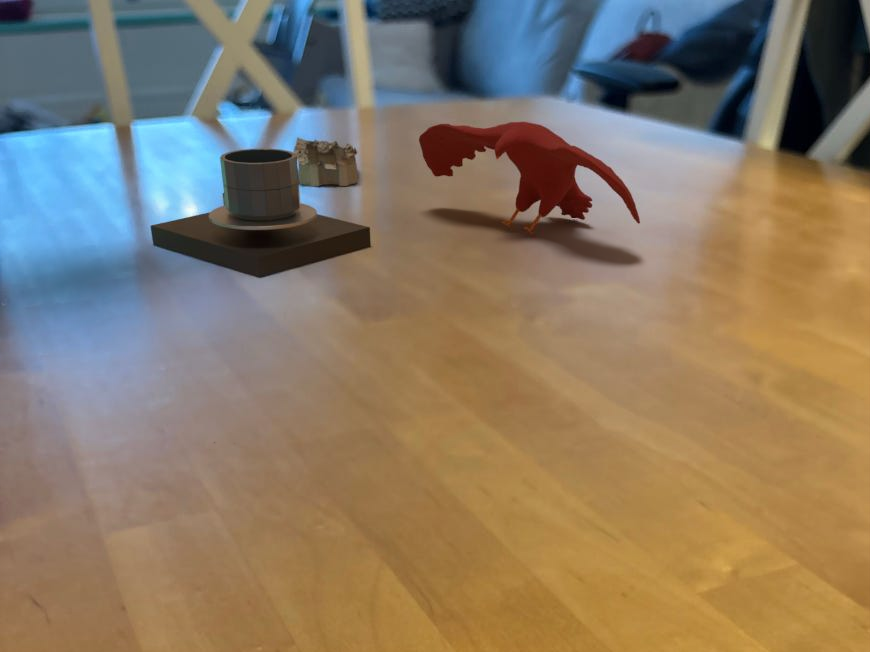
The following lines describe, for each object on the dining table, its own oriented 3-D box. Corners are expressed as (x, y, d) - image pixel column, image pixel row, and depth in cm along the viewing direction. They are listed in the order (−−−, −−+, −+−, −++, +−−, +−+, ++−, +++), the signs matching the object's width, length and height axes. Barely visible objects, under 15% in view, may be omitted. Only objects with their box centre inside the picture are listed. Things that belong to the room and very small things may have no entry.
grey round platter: (186, 216, 104) (186, 213, 103) (269, 198, 110) (269, 195, 110) (256, 236, 98) (256, 232, 98) (339, 215, 105) (338, 212, 104)
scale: (149, 244, 109) (144, 207, 107) (261, 218, 117) (257, 183, 115) (259, 278, 100) (255, 238, 98) (371, 247, 109) (369, 209, 107)
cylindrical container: (212, 213, 104) (205, 156, 101) (268, 200, 108) (263, 145, 105) (259, 226, 100) (253, 167, 97) (315, 212, 104) (311, 155, 101)
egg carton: (358, 187, 130) (356, 150, 127) (293, 188, 129) (290, 150, 127) (358, 167, 138) (357, 131, 136) (298, 167, 138) (295, 132, 136)
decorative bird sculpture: (451, 243, 126) (379, 151, 114) (494, 175, 126) (427, 76, 114) (650, 300, 109) (591, 199, 97) (699, 221, 110) (646, 112, 98)
